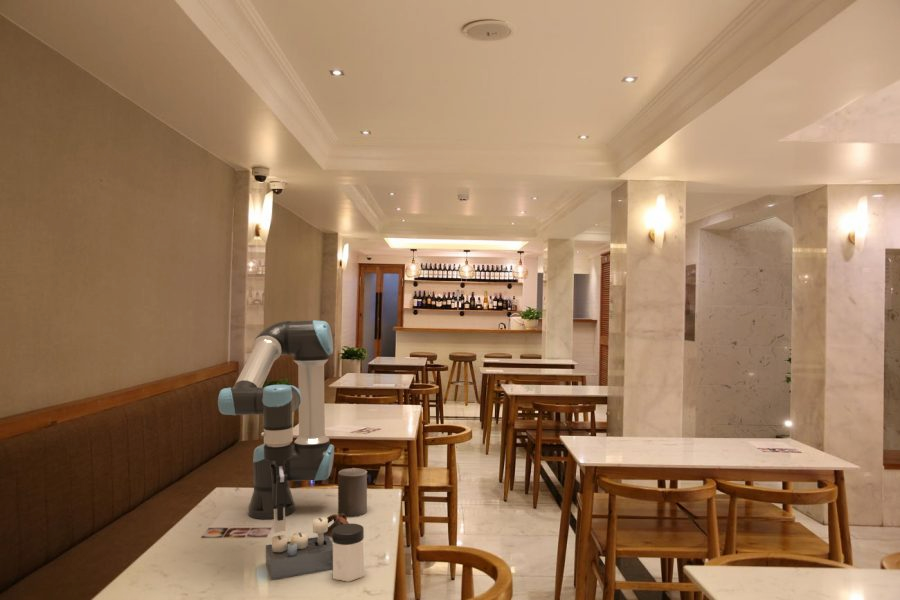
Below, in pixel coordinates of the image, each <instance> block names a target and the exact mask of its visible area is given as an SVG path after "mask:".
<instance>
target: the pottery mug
mask: <svg viewBox="0 0 900 600" xmlns="http://www.w3.org/2000/svg"><path fill="white" fill-rule="evenodd" d="M326 518H327V519H328V524H330V523H331V522H332V521H333V523H331V524H330V525H328V531H327V532H325V533H324V536H327V535H328V537H329V538H330V537H331V538H332V530H333V528H335V527H336V526H338V525H342V524H350V522H348V520H347V518H348V517H346V515H345V514H343V513H340V514H337V513H335V514H330V515H329V516H328V517H326Z"/></svg>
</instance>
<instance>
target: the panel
mask: <svg viewBox="0 0 900 600" xmlns="http://www.w3.org/2000/svg"><path fill="white" fill-rule="evenodd" d="M290 543H291V540H290V541H287V550H285V551H283V552H279V553H277V552H273V551H272V543H271V544H266V545H265V565H266V568H267V571H268V574H269V577H270V580H271V581H274V579H275V580H280V579H285V577H286V578H290V577H296V576H302V575H307V574H312V573H317V572H318V571H319V572H323V571H322V570H324V571H329V570H333V541H332V540H331V539H330V536H329V537H328V535H327V536H324V545H321V546H318V536H315V537H308V546H307V547H306V548H303V549H297V555H294V556H289V555H288V544H290Z"/></svg>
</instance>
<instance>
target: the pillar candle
mask: <svg viewBox="0 0 900 600" xmlns="http://www.w3.org/2000/svg"><path fill="white" fill-rule="evenodd" d="M337 475H338V477H337V501H338V502H337V507H338V508H337V509H338V510H337V513H338V514H340V513H343V514H345V515H346V518H354V517H355V516H356V517H360V515H361V516H363V514H364V515H365V514H366V513H367V512H368V509H367V508H368V480H367V479H368V471H367V470H366V469H364V468H359V467H358V468H356V467H352V468H343V469H341V470H339V471H338V474H337Z"/></svg>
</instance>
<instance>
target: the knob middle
mask: <svg viewBox="0 0 900 600" xmlns="http://www.w3.org/2000/svg"><path fill="white" fill-rule="evenodd" d="M308 535H309V533H307V532H305V531H303V532H302V531H300V532H296V533H294V534H292V537H294V543H297V549H303V548H306V547H307V546H308V538H309V536H308Z"/></svg>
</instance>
